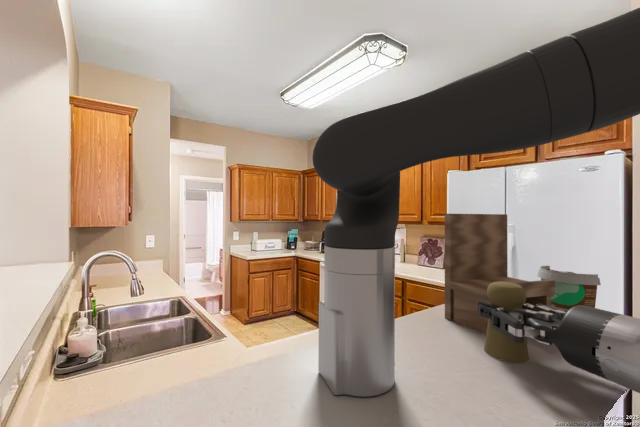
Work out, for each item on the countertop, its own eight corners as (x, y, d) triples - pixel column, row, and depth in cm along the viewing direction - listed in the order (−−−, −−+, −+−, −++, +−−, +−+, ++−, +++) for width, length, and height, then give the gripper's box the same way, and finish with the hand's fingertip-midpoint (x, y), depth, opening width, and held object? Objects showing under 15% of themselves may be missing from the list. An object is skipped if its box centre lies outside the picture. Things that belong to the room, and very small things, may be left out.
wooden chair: (492, 338, 53) (492, 212, 53) (444, 317, 63) (444, 213, 64) (555, 328, 58) (554, 214, 58) (501, 310, 69) (500, 214, 69)
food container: (523, 307, 71) (523, 265, 71) (547, 307, 72) (547, 265, 72) (573, 326, 59) (572, 275, 59) (601, 325, 60) (600, 274, 60)
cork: (528, 367, 43) (528, 289, 43) (480, 354, 46) (480, 283, 46) (530, 352, 47) (530, 282, 48) (487, 342, 51) (487, 277, 51)
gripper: (659, 309, 36) (520, 280, 52) (581, 322, 31) (455, 286, 47) (660, 373, 36) (521, 324, 52) (581, 395, 31) (455, 334, 47)
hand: (490, 306), depth 50 cm, fingers closed on cork, 4 cm apart
